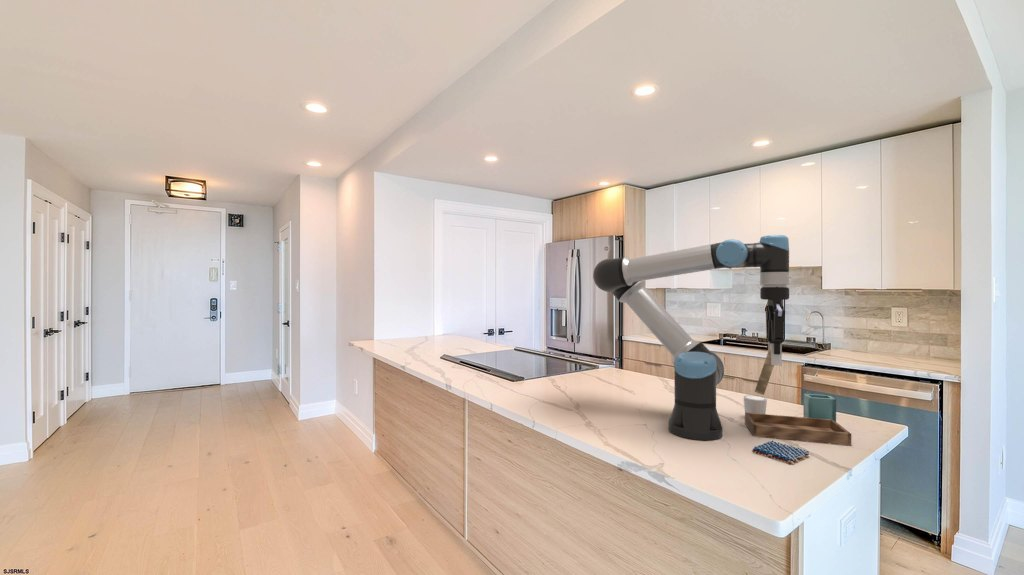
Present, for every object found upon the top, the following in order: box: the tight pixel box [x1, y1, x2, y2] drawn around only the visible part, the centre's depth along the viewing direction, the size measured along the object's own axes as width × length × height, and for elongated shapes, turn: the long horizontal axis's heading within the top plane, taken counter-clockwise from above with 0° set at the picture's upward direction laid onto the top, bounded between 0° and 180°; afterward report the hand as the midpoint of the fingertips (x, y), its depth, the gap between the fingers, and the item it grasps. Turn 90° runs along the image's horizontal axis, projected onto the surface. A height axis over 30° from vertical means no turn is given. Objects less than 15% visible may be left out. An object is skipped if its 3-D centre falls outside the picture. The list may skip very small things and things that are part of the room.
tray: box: [744, 412, 852, 447], centre depth 131 cm, size 24×14×3 cm, turn 71°
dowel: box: [754, 345, 775, 396], centre depth 133 cm, size 7×3×18 cm, turn 71°
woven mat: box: [751, 439, 811, 465], centre depth 115 cm, size 10×11×2 cm
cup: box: [803, 393, 837, 422], centre depth 140 cm, size 7×6×9 cm
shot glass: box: [743, 395, 768, 414], centre depth 146 cm, size 7×7×7 cm
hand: (774, 364), depth 133 cm, fingers closed on dowel, 2 cm apart
